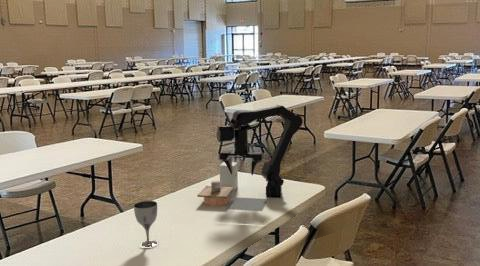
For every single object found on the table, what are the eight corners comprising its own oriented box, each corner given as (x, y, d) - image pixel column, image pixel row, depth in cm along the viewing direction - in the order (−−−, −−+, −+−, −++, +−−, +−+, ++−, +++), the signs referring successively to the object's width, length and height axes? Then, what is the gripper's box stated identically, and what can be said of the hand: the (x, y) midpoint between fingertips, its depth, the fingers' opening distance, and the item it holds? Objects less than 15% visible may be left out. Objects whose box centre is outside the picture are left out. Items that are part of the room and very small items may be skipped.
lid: (234, 188, 209) (233, 178, 208) (226, 198, 197) (226, 187, 196) (206, 187, 212) (205, 177, 211) (197, 196, 200) (196, 186, 199)
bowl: (231, 198, 209) (231, 189, 209) (225, 207, 199) (224, 197, 198) (208, 197, 212) (207, 188, 211) (201, 206, 202) (200, 196, 201)
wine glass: (138, 240, 168) (135, 201, 165) (160, 239, 168) (158, 199, 166) (135, 250, 160) (132, 209, 157) (158, 248, 161) (156, 207, 158)
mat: (268, 200, 207) (268, 198, 207) (262, 212, 192) (262, 210, 192) (235, 198, 210) (235, 197, 210) (227, 210, 196) (226, 208, 196)
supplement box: (235, 191, 219) (234, 166, 217) (219, 191, 221) (218, 165, 218) (238, 187, 226) (237, 161, 224) (223, 186, 228) (222, 161, 225)
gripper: (265, 136, 207) (266, 170, 210) (224, 135, 211) (226, 168, 214) (261, 141, 196) (261, 177, 199) (218, 140, 201) (219, 175, 204)
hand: (242, 174), depth 204 cm, fingers open, 9 cm apart
